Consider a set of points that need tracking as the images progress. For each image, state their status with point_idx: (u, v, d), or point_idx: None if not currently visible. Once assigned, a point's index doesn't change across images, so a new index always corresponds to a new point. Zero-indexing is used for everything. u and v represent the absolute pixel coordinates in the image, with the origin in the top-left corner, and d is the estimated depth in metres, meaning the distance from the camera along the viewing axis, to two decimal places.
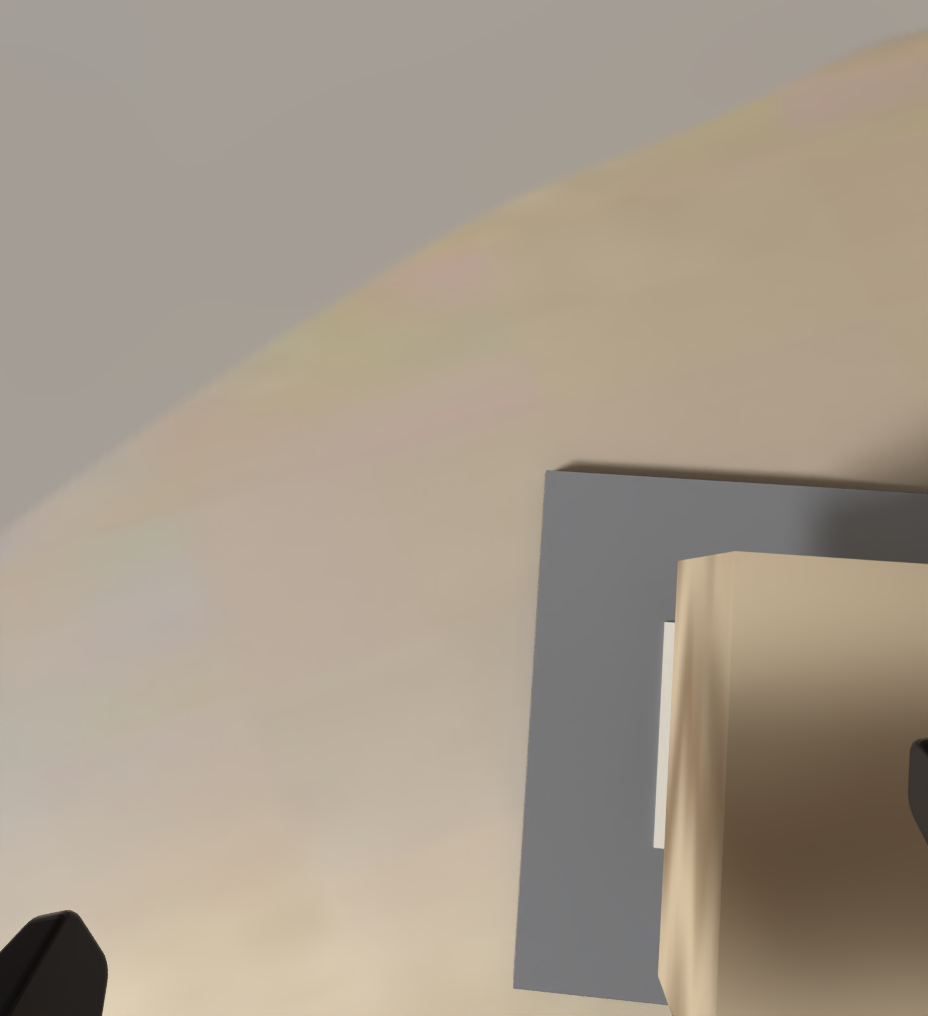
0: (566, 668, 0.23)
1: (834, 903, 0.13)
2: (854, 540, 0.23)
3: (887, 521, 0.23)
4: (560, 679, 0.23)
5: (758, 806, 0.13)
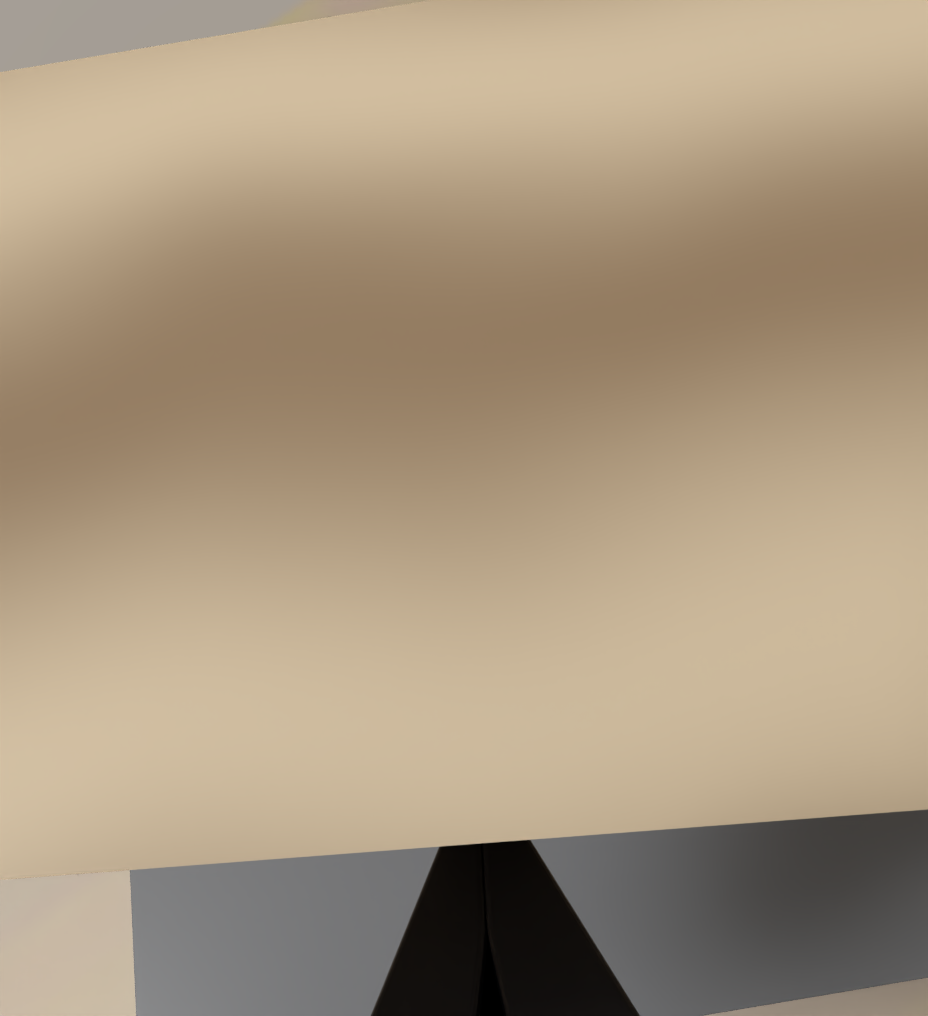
0: None
1: (104, 483, 0.08)
2: None
3: None
4: None
5: None
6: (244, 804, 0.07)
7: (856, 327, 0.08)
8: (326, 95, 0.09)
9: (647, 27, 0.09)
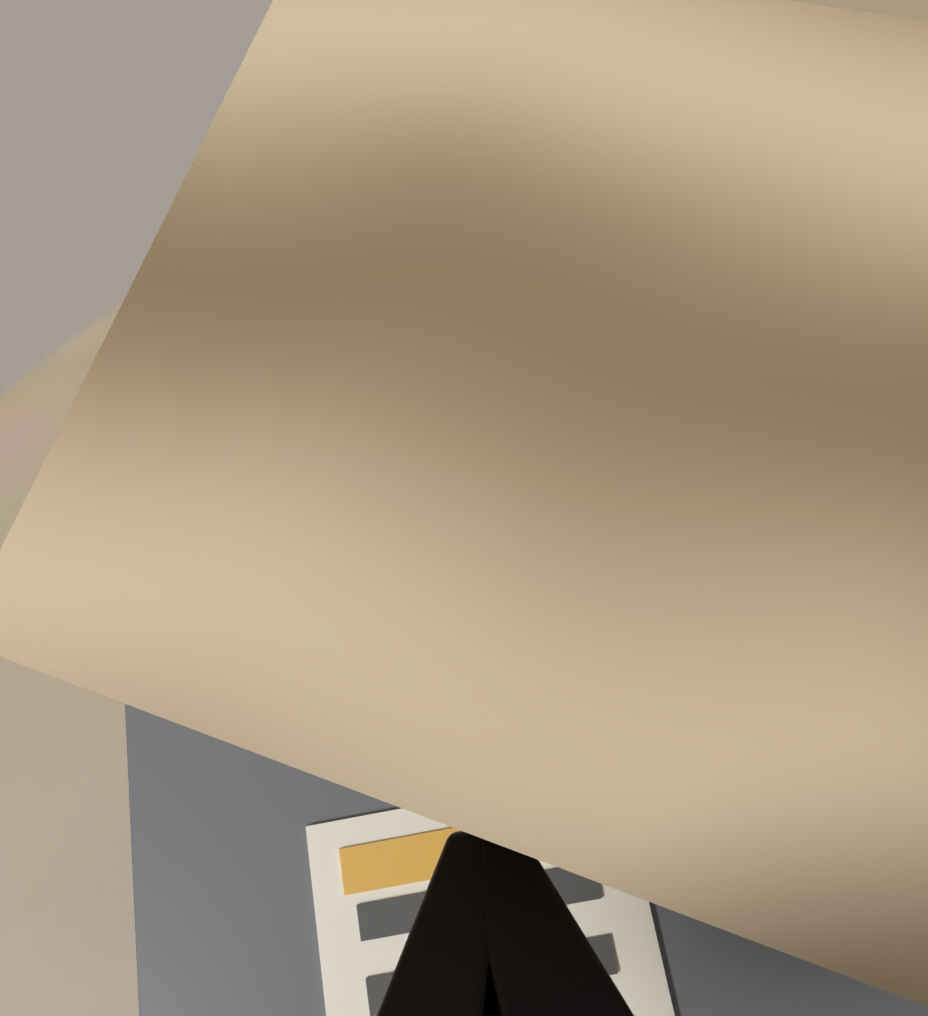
0: (181, 934, 0.15)
1: (266, 358, 0.08)
2: None
3: None
4: (175, 954, 0.15)
5: (212, 218, 0.09)
6: (278, 703, 0.07)
7: None
8: (615, 59, 0.09)
9: None
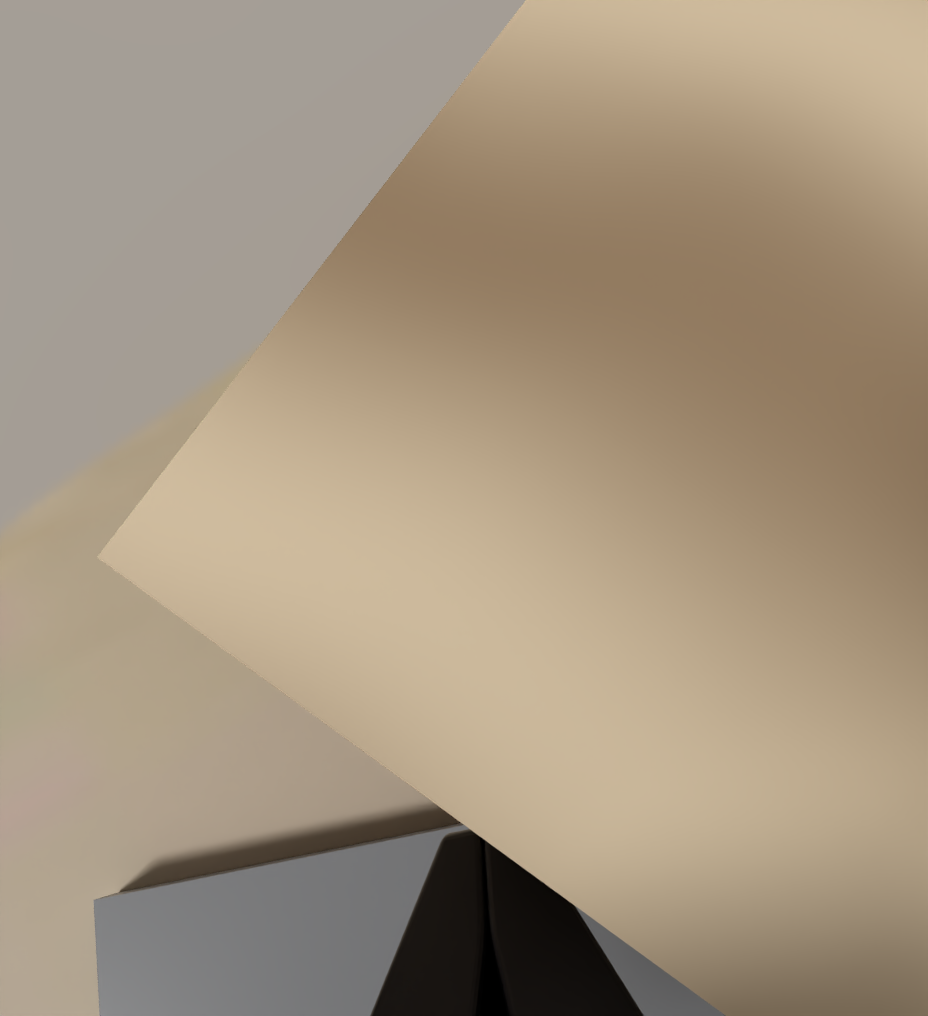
0: None
1: (488, 336, 0.07)
2: None
3: None
4: None
5: (459, 166, 0.08)
6: (425, 723, 0.06)
7: None
8: None
9: None
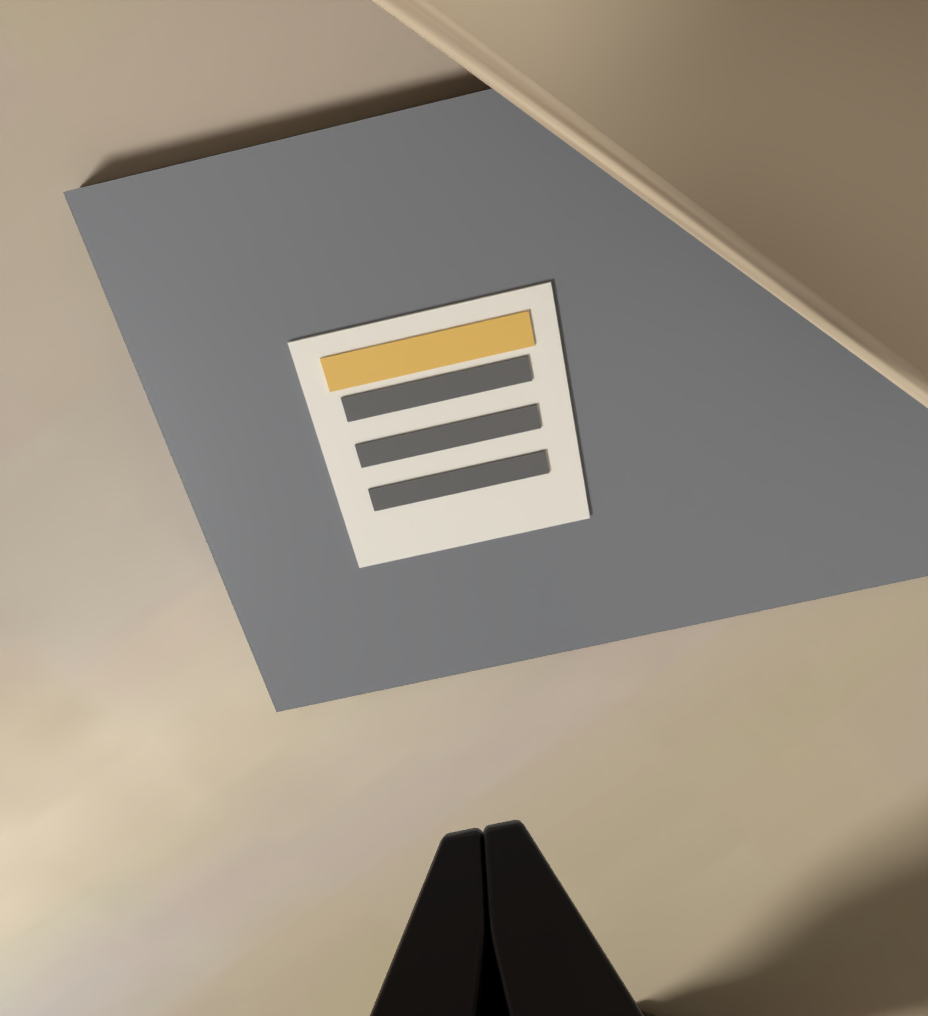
0: (200, 427, 0.19)
1: None
2: (483, 169, 0.17)
3: (518, 129, 0.17)
4: (198, 440, 0.19)
5: None
6: None
7: None
8: None
9: None
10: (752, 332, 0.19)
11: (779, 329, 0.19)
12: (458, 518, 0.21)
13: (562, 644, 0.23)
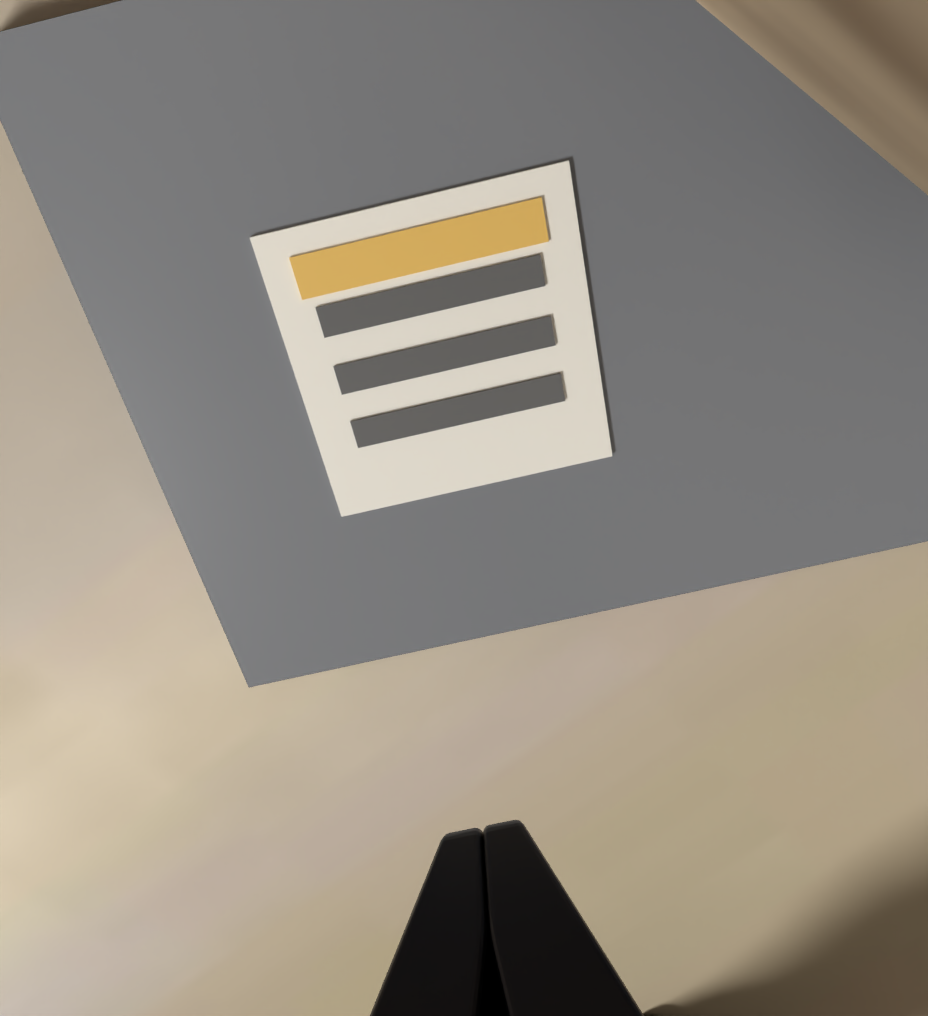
0: (147, 344, 0.16)
1: None
2: (485, 12, 0.14)
3: None
4: (146, 361, 0.16)
5: None
6: None
7: None
8: None
9: None
10: (810, 226, 0.16)
11: (843, 222, 0.16)
12: (457, 456, 0.17)
13: (578, 607, 0.20)
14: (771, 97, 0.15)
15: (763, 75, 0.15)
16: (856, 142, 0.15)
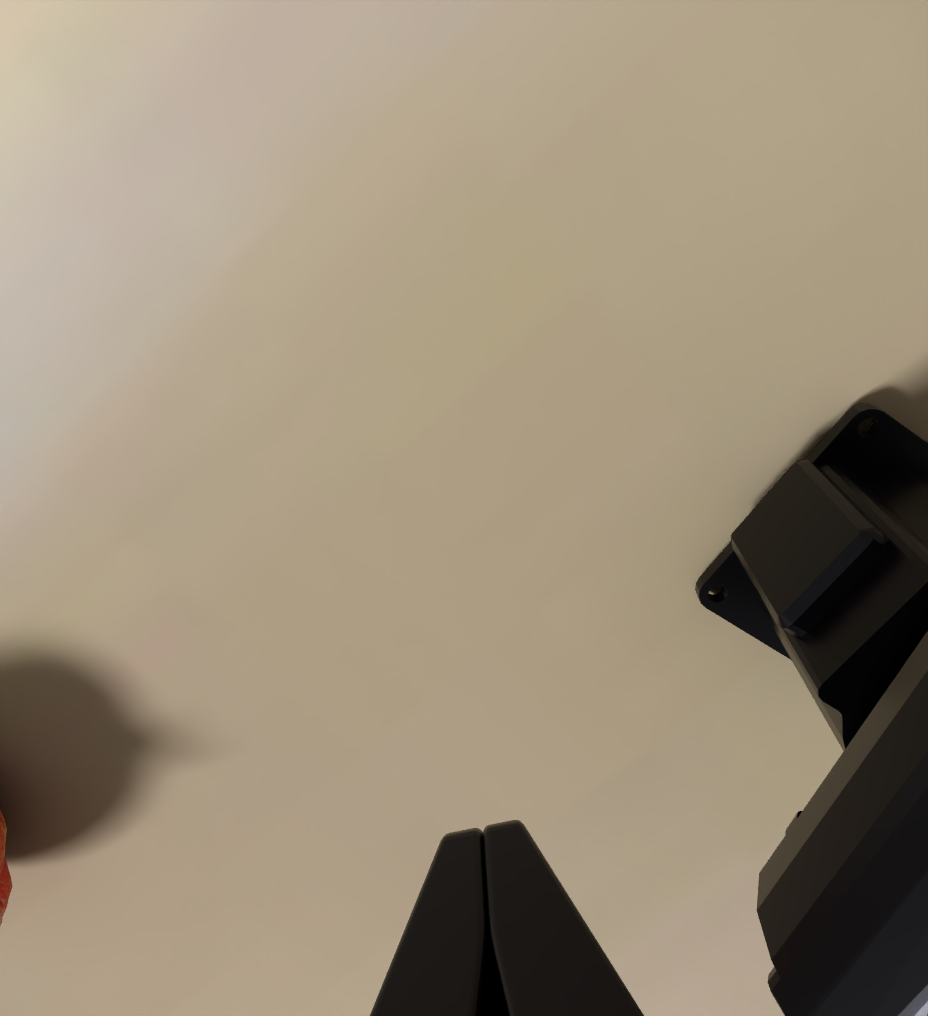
0: None
1: None
2: None
3: None
4: None
5: None
6: None
7: None
8: None
9: None
10: None
11: None
12: None
13: None
14: None
15: None
16: None
